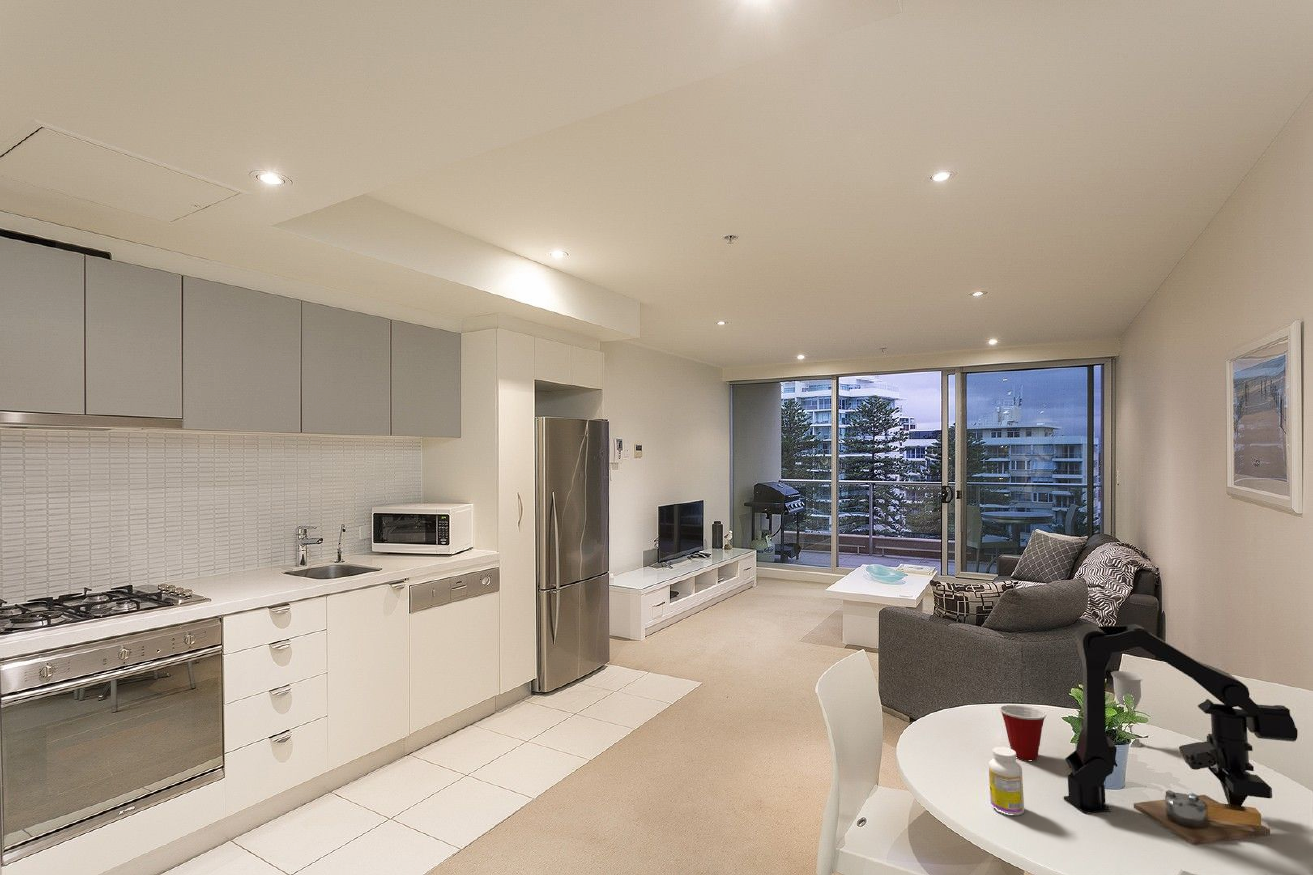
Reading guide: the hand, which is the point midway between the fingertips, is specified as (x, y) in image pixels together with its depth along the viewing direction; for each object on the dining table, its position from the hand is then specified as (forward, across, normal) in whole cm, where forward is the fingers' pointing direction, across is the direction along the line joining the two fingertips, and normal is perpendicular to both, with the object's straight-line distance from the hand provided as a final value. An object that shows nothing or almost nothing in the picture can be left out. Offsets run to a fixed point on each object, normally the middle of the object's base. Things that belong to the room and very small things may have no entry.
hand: (1233, 809), depth 138 cm
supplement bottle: (+3, +7, -44) cm, 44 cm away
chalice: (+3, -39, -8) cm, 40 cm away
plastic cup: (+3, -22, -36) cm, 42 cm away
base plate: (+3, 0, -6) cm, 7 cm away
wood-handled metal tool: (+2, +3, -5) cm, 6 cm away
